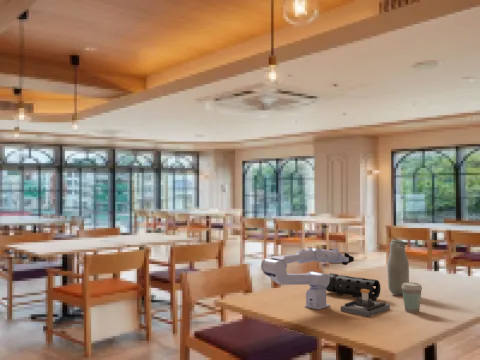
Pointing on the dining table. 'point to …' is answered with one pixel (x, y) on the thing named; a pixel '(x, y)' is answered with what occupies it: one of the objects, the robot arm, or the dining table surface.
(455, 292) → the dining table surface
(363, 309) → the breaker panel
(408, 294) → the coffee cup
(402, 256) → the grey bottle
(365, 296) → the breaker lever
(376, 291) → the muzzle brake
